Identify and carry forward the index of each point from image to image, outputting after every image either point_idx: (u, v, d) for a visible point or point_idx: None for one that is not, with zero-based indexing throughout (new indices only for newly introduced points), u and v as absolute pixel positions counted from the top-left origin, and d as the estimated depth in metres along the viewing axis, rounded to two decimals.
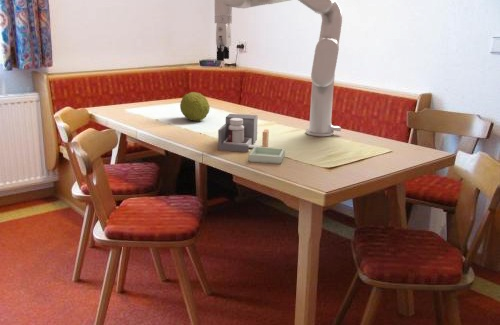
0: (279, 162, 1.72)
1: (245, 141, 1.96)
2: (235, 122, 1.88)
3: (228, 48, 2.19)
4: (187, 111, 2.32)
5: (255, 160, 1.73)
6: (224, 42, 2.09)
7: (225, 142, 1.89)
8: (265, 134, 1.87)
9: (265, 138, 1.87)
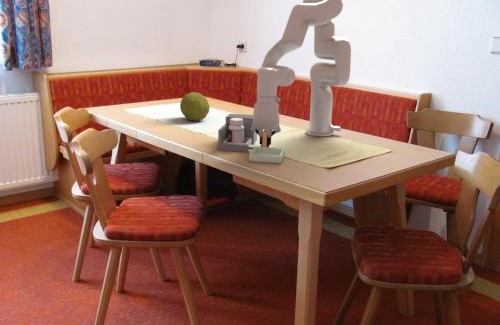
0: (279, 162, 1.72)
1: (245, 141, 1.96)
2: (235, 122, 1.88)
3: (262, 132, 1.91)
4: (187, 111, 2.32)
5: (255, 160, 1.73)
6: None
7: (225, 142, 1.89)
8: (265, 134, 1.87)
9: (265, 138, 1.87)
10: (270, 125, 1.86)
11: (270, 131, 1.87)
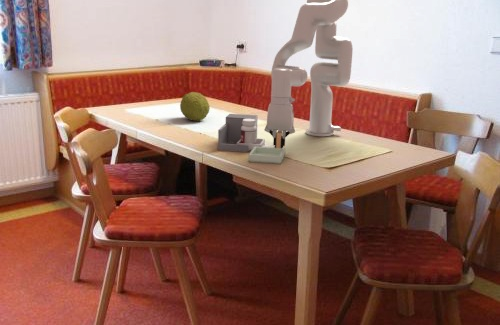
0: (279, 162, 1.72)
1: (258, 142, 1.95)
2: (248, 123, 1.87)
3: (276, 133, 1.90)
4: (187, 111, 2.32)
5: (255, 160, 1.73)
6: None
7: (239, 143, 1.88)
8: (279, 135, 1.86)
9: (279, 139, 1.86)
10: (284, 126, 1.85)
11: (284, 132, 1.86)
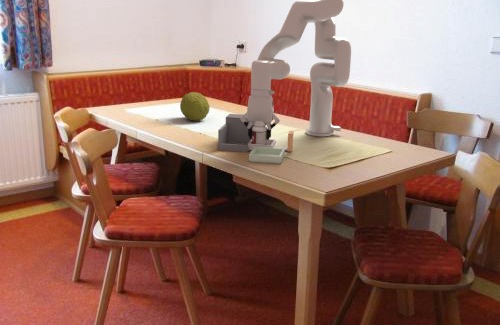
0: (279, 162, 1.72)
1: (269, 143, 1.95)
2: (259, 123, 1.86)
3: (251, 125, 1.91)
4: (187, 111, 2.32)
5: (255, 160, 1.73)
6: None
7: (250, 144, 1.87)
8: (290, 136, 1.85)
9: (290, 140, 1.86)
10: (264, 118, 1.85)
11: (268, 124, 1.87)
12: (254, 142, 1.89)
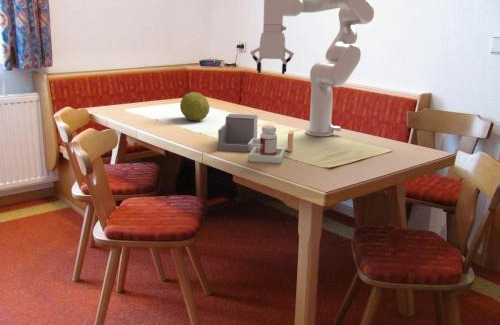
0: (279, 162, 1.72)
1: None
2: (268, 130, 1.73)
3: None
4: (187, 111, 2.32)
5: (255, 160, 1.73)
6: None
7: (250, 144, 1.87)
8: (290, 136, 1.85)
9: (290, 140, 1.86)
10: (276, 54, 1.90)
11: (282, 58, 1.90)
12: (263, 150, 1.75)
